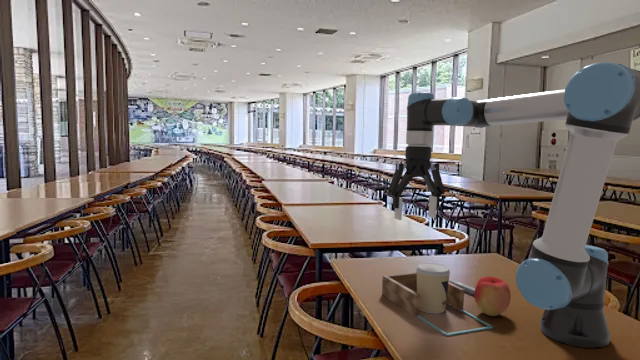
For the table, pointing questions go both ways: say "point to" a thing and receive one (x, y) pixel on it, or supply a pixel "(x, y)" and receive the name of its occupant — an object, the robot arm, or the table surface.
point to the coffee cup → (432, 286)
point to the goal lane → (460, 331)
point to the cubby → (405, 288)
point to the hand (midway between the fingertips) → (415, 218)
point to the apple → (492, 295)
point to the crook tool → (464, 287)
